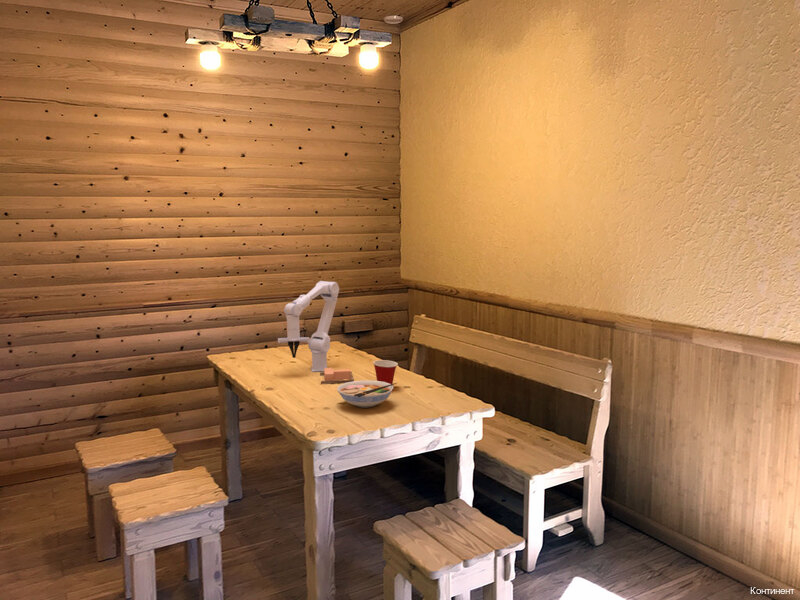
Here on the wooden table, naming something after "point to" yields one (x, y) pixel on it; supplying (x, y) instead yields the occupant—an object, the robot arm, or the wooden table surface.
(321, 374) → the frame
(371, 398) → the ramen bowl
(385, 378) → the plastic cup
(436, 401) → the wooden table surface
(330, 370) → the t block
